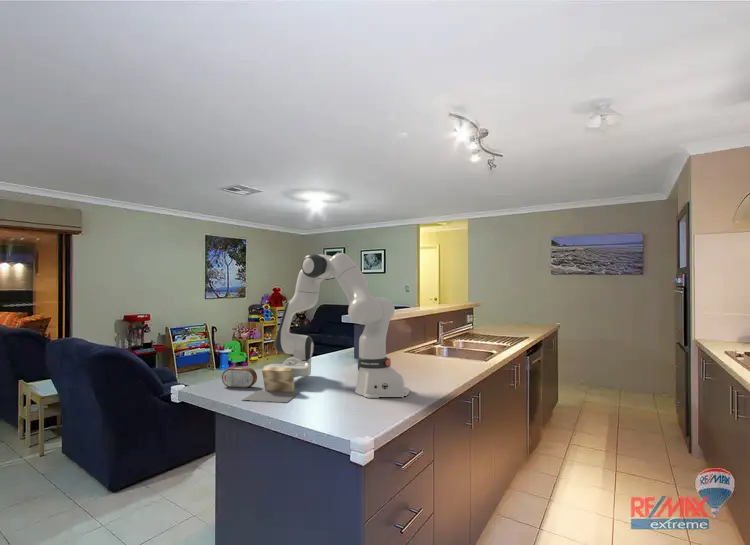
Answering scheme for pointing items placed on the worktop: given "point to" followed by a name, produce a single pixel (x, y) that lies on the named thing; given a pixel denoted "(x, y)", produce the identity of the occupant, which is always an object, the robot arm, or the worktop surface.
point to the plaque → (278, 379)
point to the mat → (271, 396)
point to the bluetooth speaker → (239, 377)
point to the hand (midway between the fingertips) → (280, 374)
